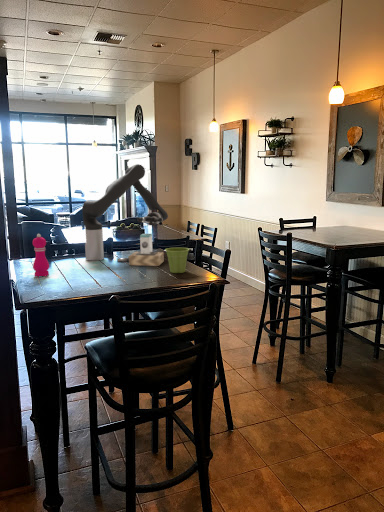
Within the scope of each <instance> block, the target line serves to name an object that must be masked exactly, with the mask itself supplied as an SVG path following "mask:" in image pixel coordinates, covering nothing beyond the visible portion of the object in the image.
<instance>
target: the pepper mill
mask: <svg viewBox="0 0 384 512" xmlns="http://www.w3.org/2000/svg"><path fill="white" fill-rule="evenodd" d="M46 245H47V240H46V238H44V237H43V236H42V235H41V234H40V233H37V234H36V237H35V238H33V240H32V246H33V247H34V248H33V249H34V250H33V251H35V258H34V261H33V264H32V265H33V266H32V269H33V270H34V271H35V272H34V276H38V277H37V278H40V277H39V276H45V277H48V276H49V275H50V273H49V269H50V264H49V261H48V259H47V257H46V250H47V249H46V247H45V246H46ZM47 275H48V276H47Z"/></svg>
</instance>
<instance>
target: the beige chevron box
mask: <svg viewBox="0 0 384 512" xmlns="http://www.w3.org/2000/svg"><path fill="white" fill-rule="evenodd" d="M164 255H165V252H164V251H152V253H151V254H141V251H134V252H132V253H131V254H129V255H128V256H129V262H128V264H129V266H148V267H149V266H152V267H153V266H154V267H155V266H157V267H158V266H160V265H161V264H162V263H163V262H164V260H165V259H164V258H165V257H164Z"/></svg>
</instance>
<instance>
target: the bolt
mask: <svg viewBox="0 0 384 512" xmlns="http://www.w3.org/2000/svg"><path fill="white" fill-rule="evenodd" d="M129 256H130V255H128V257H123V258H117V263H129Z"/></svg>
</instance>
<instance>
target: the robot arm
mask: <svg viewBox="0 0 384 512" xmlns="http://www.w3.org/2000/svg"><path fill="white" fill-rule="evenodd" d="M145 175H146V170H145V167H144V166H143V165H142V164H138V163H137V164H133V165H132V166H130V167H128V168H127V169H126V170H125V174H124V175H122V176H120V177H119V178H116V179H115V180H114V181H113V182H111V183H110V184H109V185H108V186H107V187H106V188H105V194H103V196H102V197H101V198H99V199H97V200H91V199H90V200H85V201H84V202H83V204H82V219H83V224H84V226H85V227H84V229H85V243H84V249H85V251H84V252H85V261H102V260H104V259H105V258H104V237H103V236H104V235H103V224H102V223H100V222H99V221H98V220H97V218H99V217H102V216H103V215H104V214H105V213H106V211H108V209H109V208H110V207H111V206H112V205H113V204H114V203H115V202H116V201H118V199H120V198H121V197H122V196H123V195H125V193H126V192H127V191H128V190H130V188H132V186H133V187H134V189H135V191H136V192H137V193H138V194H139V195H140V197H141V198H142V200H143V201H144V203H145V205H146V207H147V209H148V210H149V211H154V212H150V213H147V215H146V216H143V217H142V216H140V217H137V220H136V221H137V223H144V224H147V225H149V226H155V225H158V224H160V223H163V222H164V221H166V220H167V219H168V218H169V214H168V212H167V211H166V210H165V209H164V208H163V207H162V206H161V205H160V203H159V201H157V199H156V197H155V196H154V193H152V192H151V191H150V190H149V189H147V188H146V187H145V186H144V185H143V184H142V183H141V181H140V180H142V179H143V178H144V176H145ZM155 210H157V211H155Z"/></svg>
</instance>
